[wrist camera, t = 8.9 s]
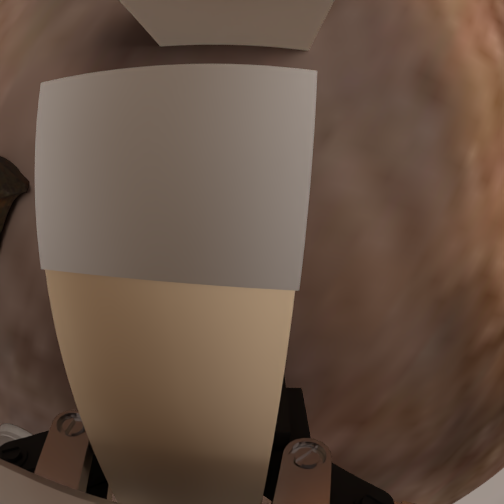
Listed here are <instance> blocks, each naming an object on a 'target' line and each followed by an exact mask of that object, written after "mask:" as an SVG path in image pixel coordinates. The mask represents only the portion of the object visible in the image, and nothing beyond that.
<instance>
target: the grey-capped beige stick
mask: <svg viewBox="0 0 504 504" xmlns="http://www.w3.org/2000/svg"><path fill="white" fill-rule="evenodd" d="M316 88H317V71H314V70H306V69H297V68H287V67H276V66H263V65H245V64H176V65H158V66H144V67H134V68H124V69H116V70H108V71H101V72H94V73H88V74H82V75H76V76H71V77H65V78H61V79H56V80H51V81H47V82H42V83H41V87H40V95H39V104H38V114H37V126H36V143H35V206H36V224H37V236H38V247H39V256H40V264H41V269H45V273H46V280H47V286H48V293H49V299H50V304H51V310H52V315H53V320H54V325H55V329H56V334H57V338H58V343H59V347H60V351H61V355H62V359H63V362H64V366H65V370H66V373H67V377H68V380H69V384H70V387H71V390H72V393H73V396H74V399H75V403H76V406H77V408H78V411H79V414H80V417H81V420H82V423H83V425H84V428H85V431H86V433H87V436H88V438H89V441H90V443H91V446H92V448H93V451H94V453H95V455H96V458H97V460H98V462H99V465H100V467H101V469H102V471H103V473H104V475H105V478H106V480H107V482H108V484H109V486H110V488H111V490H112V492H113V494H114V496H115V498H116V500H117V502H118V503H121V504H261V503H262V498H263V493H264V488H265V483H266V477H267V472H268V467H269V461H270V456H271V450H272V445H273V439H274V433H275V427H276V421H277V415H278V409H279V403H280V397H281V390H282V384H283V377H284V370H285V363H286V356H287V349H288V342H289V335H290V327H291V319H292V312H293V304H294V295H295V290H296V291H299V288H300V280H301V271H302V263H303V254H304V244H305V235H306V225H307V215H308V204H309V193H310V181H311V169H312V155H313V141H314V126H315V108H316Z"/></svg>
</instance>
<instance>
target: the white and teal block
mask: <svg viewBox="0 0 504 504" xmlns="http://www.w3.org/2000/svg"><path fill="white" fill-rule="evenodd" d="M119 1H120V2H121V3H122V4H123V5H124V6H125V8H126V9H127V10H128V11H129V12H130V13H131V14H132V15H133V16H134V17H135V19H136V20H137V21H138V22H139V23H140V24H141V25H142V26H143V27H144V29H145V30H146V31H147V32H148V33H149V34H150V35H151V36H152V38H153V39H154V40H155V41H156V42H157V43H158V45H159V46H160V47H161V46H177V45H249V46H266V47H278V48H289V49H298V50H306V51H309V49H310V47H311V45H312V43H313V41H314V39H315V37H316V35H317V33H318V31H319V29H320V27H321V25H322V23H323V21H324V19H325V18H326V16H327V14H328V12H329V10H330V8H331V6H332V4H333V2H334V0H119Z"/></svg>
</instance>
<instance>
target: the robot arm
mask: <svg viewBox="0 0 504 504" xmlns="http://www.w3.org/2000/svg"><path fill="white" fill-rule="evenodd" d="M331 462H332V456H331V451H330V450H329V448H328V447H327V446H326V445H325V444H324V443H322V442H320V441H318V440H316V439H311V438H310V432H309V426H308V421H307V415H306V410H305V404H304V399H303V393H302V389H301V388H286V385H285V377H283V384H282V390H281V397H280V403H279V409H278V415H277V421H276V427H275V433H274V439H273V445H272V450H271V456H270V461H269V467H268V472H267V477H266V483H265V488H264V493H263V495H264V496H265V497H267V498H268V499H270V500H271V501H272V502H271V504H415V503H411V502H407V501H402V502H401V503H399V502H395V501H393V499H392V497H391V496H390V495H389V494H388V493H386V492H385V491H383V490H381V489H379V488H377V487H375V486H373V485H372V484H370V483H368V482H366V481H364V480H362V479H360V478H358V477H356V476H354V475H353V474H351V473H349V472H347V471H345V470H344V469H342V468H340V467H338V466H337V465H335V464H333V463H331ZM112 493H113V492H112V490H111V488H110V486H109V484H108V482H107V480H106V478H105V475H104V473H103V471H102V469H101V467H100V465H99V462H98V460H97V458H96V455H95V453H94V451H93V448H92V446H91V443H90V441H89V438H88V436H87V433H86V431H85V428H84V425H83V423H82V420H81V417H80V414H79V411H78V410H68V411H64V412H62V413H60V414H58V415H57V416H56V417H55V419H54V420H53V422H52V425H51V427H50V430H49V431H46V432H42V433H39V434H35V435H32V436H28V437H24V438H20V439H16V440H13V441H9V442H6V443H4V444H3V445H1V446H0V504H121V503H118V502H114V501H112Z"/></svg>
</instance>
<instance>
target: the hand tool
mask: <svg viewBox="0 0 504 504" xmlns="http://www.w3.org/2000/svg"><path fill="white" fill-rule="evenodd" d="M28 186H29V181H28V180H27V179H26V178H25V177H24V176H23V175H22V174H21V173H20V171H19V170H18V168H17V167H16V166H15V165H14V164H12V163H11V162H10V161H8V160H7V159H5V158H3V157H1V156H0V233H1V231H2V229H3V225H4V221H5V219H6V216H7V214H8V211H9V209H10V207H11V204H12V202H13V201H14V200H15V198H16V197H17V196H18V195H19V194H22V193H25V192H26V191H27V189H28Z"/></svg>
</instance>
